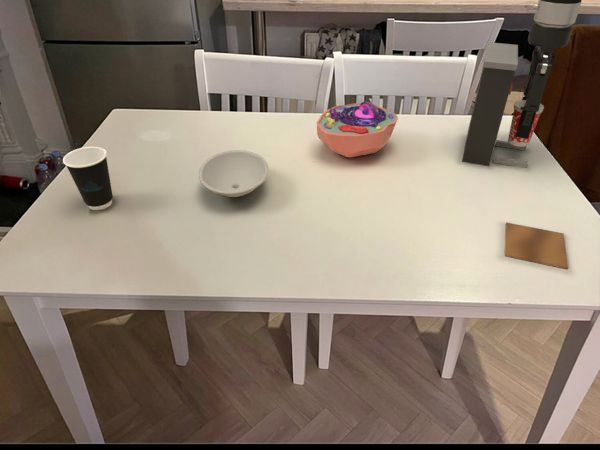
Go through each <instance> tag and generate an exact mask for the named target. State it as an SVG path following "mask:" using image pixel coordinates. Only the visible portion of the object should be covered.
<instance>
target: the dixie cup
mask: <svg viewBox="0 0 600 450" xmlns="http://www.w3.org/2000/svg"><path fill="white" fill-rule="evenodd" d="M107 156H108V151H107V150H106V149H104V148H103V147H99V146H83V147H80V148H76V149H73V150H72V151H69V152H68V153H66V154H65V155H64V156H63V158H62V163H63V164H64V165H65V167H66V168H67V170H68V173H69V174H70V176H71V178H72V180H73V183H74V184H75V186H76V188H77V190H78V192H79V194H80V196H81V198H82V200H83V202H84V204H85V205H86V206H87V208H88V209H89V210H92V211H101V210H105V209H108V207H110V206H111V205H112V204H113V197H114V195H113V190H112V184H111V177H110V171H109V165H108V158H107ZM108 203H109V204H108ZM106 204H107V205H106ZM104 205H105V206H104ZM89 206H91V207H89ZM101 206H103V207H101ZM93 207H98V208H93Z"/></svg>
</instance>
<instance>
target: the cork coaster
mask: <svg viewBox="0 0 600 450" xmlns="http://www.w3.org/2000/svg"><path fill="white" fill-rule="evenodd" d="M504 257H507V258H512V259H516V260H522V261H526V262H531V263H535V264H541V265H544V266H545V265H546V266H551V267H554V268H555V267H556V268H560V269H564V270H568V269H569V263H568V256H567V248H566V241H565V233H563V232H558V231H554V230H549V229H543V228H538V227H532V226H527V225H522V224H517V223H512V222H507V221H506V222H505V235H504Z"/></svg>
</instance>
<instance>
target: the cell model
mask: <svg viewBox="0 0 600 450" xmlns="http://www.w3.org/2000/svg"><path fill="white" fill-rule="evenodd" d="M398 120H399V117H398V115H397V114H396V113H395V112H394V111H392V110H389V109H387V108H384V107H382V106H378V105H376V104H374V103H372V102H370V101H362V102H360V103H358V102H357V103H356V102H355V103H348V104H341V105H340V104H339V105H335V106H333V107H330V108H329V109H327V110H325V111H324V112H323V113H321V115H320V116H319V118H318V119H317V120H316V133H317V137H318V138H319V140H320V141H321V142H322V143H323V144H324V145H325V146H326V147H327V148H328V149H329V150H330V151H332V152H334V153H335V154H339V155H341V156H343V157H344V158H345V157H346V158H356V157H361V156H366V155H372V154H375V153H377V152H379V151H381V150H382V148H384V147H385V145H386V144H387V143H388V142H389V140H390V138H391V137H392V134H393V132H394V129H395V127H396V125H397V122H398Z"/></svg>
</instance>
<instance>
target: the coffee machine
mask: <svg viewBox="0 0 600 450" xmlns="http://www.w3.org/2000/svg"><path fill="white" fill-rule="evenodd" d="M485 47H486V48H485V52H484V59H483V64H482V68H481V73H480V77H479V81H478V86H477V91H476V95H475V99H474V103H473V108H472V111H471V117H470V121H469V125H468V129H467V133H466V137H465V142H464V143H465V144H464V149H463V155H462V159H461V162H462V163H467V164H472V165H473V164H474V165H478V166H479V165H480V166H485V167H486V166H487V167H490V164H491V161H492V156H493V152H494V151H495V150H494V149H495V147H502V148H507V149H515V150H521V151H526V150H527V148H528V146H524V147H519V146H514V145H512V144H510V143H509V142H508V140H507V141H506V140H500V139H497V138H498V135H499V131H500V128H501V123H502V120H503V116H504V113H505V110H506V105H507V102H508V98H509V96H510V95H511V94H512V90H513V86H514V83H513V80H514V76H515V72H516V71H517V69H518V66H519V45H518V44H510V43H501V42H486V46H485ZM493 163H494V164H499V165H505V166H512V167H517V168H524V169H527V167H528V164H529V163H528V160H527V161H526V160H521V159H514V158H507V157H501V156H495V157H494V160H493Z"/></svg>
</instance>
